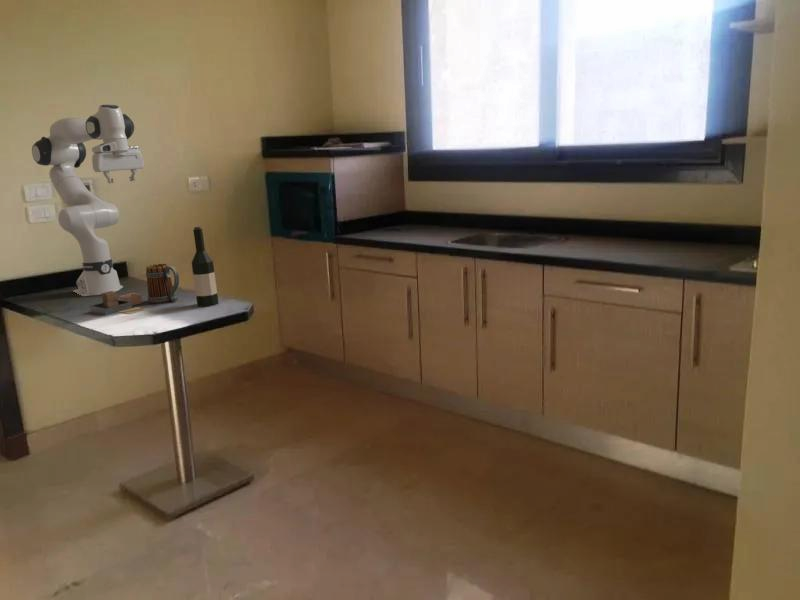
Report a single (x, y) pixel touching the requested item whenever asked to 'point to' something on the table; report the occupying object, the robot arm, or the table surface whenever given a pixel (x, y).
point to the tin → (110, 308)
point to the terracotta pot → (132, 298)
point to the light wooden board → (133, 310)
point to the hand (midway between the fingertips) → (121, 182)
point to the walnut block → (109, 299)
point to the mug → (161, 283)
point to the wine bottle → (203, 273)
